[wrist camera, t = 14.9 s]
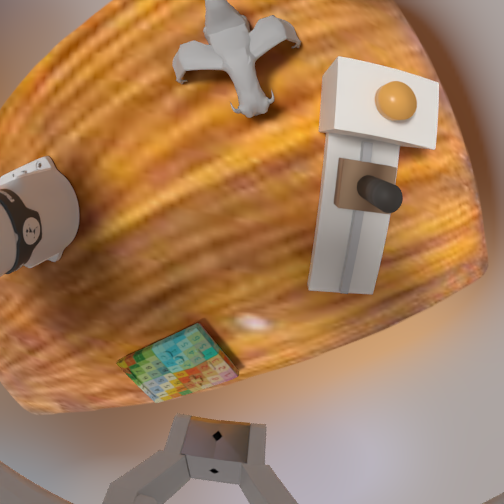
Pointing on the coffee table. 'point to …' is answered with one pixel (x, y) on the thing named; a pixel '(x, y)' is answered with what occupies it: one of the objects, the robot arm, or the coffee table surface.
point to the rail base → (368, 150)
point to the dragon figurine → (235, 52)
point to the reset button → (395, 101)
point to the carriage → (366, 187)
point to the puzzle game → (179, 365)
